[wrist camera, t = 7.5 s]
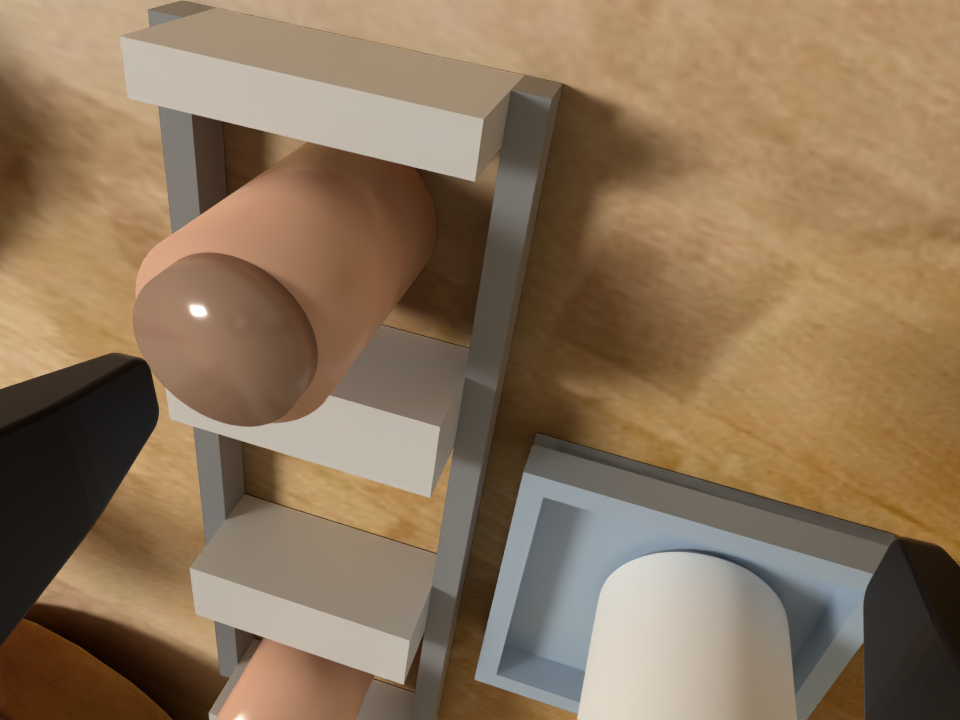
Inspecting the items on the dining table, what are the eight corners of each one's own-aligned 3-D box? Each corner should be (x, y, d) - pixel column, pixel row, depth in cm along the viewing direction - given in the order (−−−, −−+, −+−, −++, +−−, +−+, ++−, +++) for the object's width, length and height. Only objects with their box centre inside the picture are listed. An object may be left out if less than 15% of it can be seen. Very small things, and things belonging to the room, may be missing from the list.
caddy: (562, 83, 19) (529, 129, 16) (437, 717, 36) (409, 801, 33) (181, 0, 20) (80, 27, 17) (236, 648, 38) (190, 722, 35)
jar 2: (394, 602, 32) (314, 781, 26) (386, 669, 35) (313, 844, 29) (286, 568, 33) (184, 734, 27) (287, 635, 36) (195, 799, 30)
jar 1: (445, 153, 21) (325, 281, 15) (428, 307, 24) (321, 468, 17) (279, 114, 22) (95, 220, 15) (282, 268, 24) (128, 409, 18)
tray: (894, 534, 24) (906, 583, 22) (762, 728, 30) (764, 776, 29) (536, 432, 25) (523, 471, 24) (486, 638, 32) (474, 679, 30)
